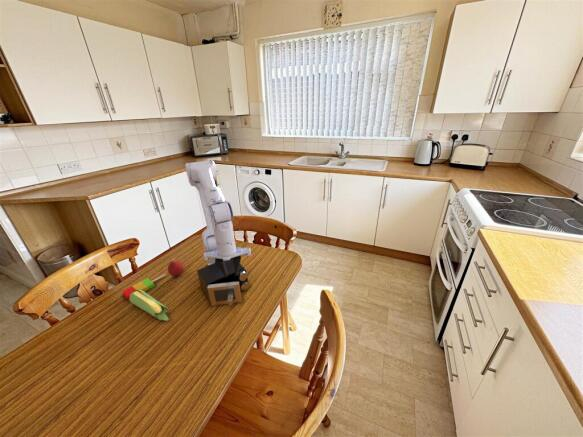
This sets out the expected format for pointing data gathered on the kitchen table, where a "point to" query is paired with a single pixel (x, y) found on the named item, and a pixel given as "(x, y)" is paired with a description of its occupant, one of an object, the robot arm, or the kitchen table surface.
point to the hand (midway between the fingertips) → (231, 274)
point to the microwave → (222, 276)
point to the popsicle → (141, 286)
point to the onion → (175, 268)
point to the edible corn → (148, 304)
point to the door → (224, 293)
